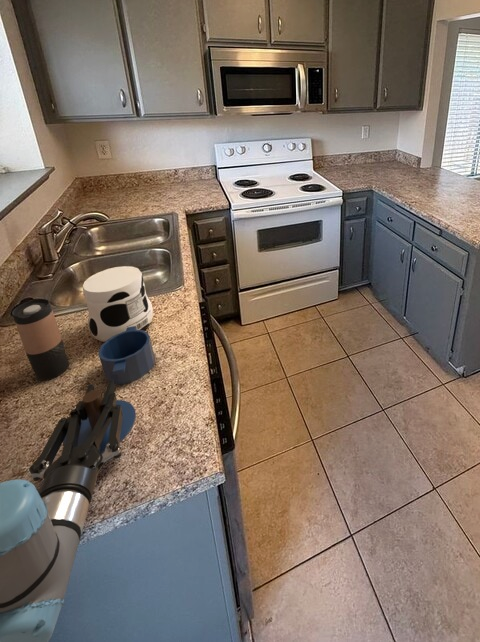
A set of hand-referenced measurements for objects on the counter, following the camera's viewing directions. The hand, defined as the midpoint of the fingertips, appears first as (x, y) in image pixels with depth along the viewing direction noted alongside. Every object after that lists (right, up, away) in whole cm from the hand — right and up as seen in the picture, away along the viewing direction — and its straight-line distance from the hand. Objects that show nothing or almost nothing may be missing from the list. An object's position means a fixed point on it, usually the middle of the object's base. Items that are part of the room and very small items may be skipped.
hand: (102, 386), depth 75 cm
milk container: (-16, 0, +36) cm, 40 cm away
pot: (-5, -5, +21) cm, 22 cm away
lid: (+2, -7, -3) cm, 8 cm away
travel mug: (-26, -6, +21) cm, 34 cm away
